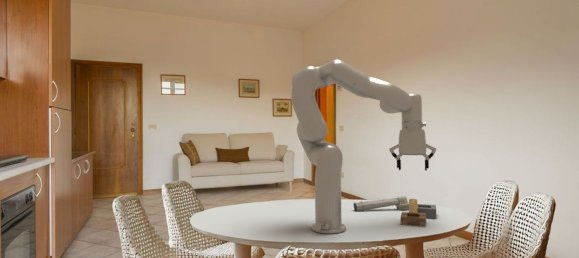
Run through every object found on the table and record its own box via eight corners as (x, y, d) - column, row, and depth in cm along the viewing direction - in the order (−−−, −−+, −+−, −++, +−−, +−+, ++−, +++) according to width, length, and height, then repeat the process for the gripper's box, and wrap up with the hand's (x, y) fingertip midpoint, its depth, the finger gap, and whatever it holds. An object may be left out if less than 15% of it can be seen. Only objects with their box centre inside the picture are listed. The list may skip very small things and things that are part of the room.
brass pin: (417, 224, 140) (417, 200, 140) (409, 223, 141) (408, 200, 141) (417, 222, 143) (417, 199, 143) (409, 221, 144) (409, 198, 144)
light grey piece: (352, 201, 167) (405, 192, 169) (354, 216, 167) (407, 207, 169) (355, 203, 162) (410, 194, 164) (357, 218, 162) (412, 209, 164)
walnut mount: (425, 226, 137) (425, 218, 137) (400, 224, 140) (400, 216, 140) (425, 220, 145) (425, 213, 145) (402, 219, 148) (401, 211, 148)
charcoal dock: (436, 219, 147) (436, 209, 147) (412, 217, 150) (412, 207, 150) (435, 214, 156) (435, 204, 156) (413, 213, 159) (413, 203, 159)
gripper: (435, 125, 143) (436, 169, 143) (389, 126, 149) (390, 168, 149) (436, 125, 136) (437, 171, 136) (388, 126, 142) (388, 170, 142)
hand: (412, 170), depth 143 cm, fingers open, 9 cm apart
